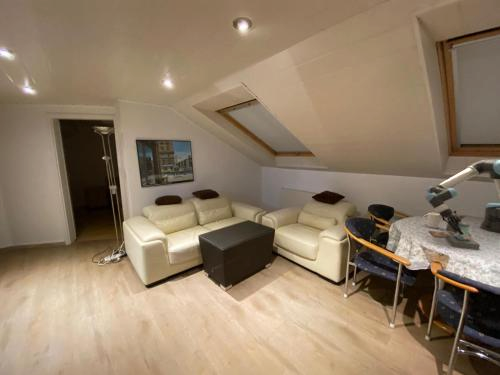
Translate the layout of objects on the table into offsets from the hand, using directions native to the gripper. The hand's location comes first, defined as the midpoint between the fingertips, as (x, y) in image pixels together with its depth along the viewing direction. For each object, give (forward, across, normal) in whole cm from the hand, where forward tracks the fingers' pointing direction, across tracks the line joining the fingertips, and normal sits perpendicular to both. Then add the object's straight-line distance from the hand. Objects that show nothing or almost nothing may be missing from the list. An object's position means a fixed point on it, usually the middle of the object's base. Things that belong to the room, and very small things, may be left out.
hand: (469, 237), depth 154 cm
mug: (-19, -24, -29) cm, 42 cm away
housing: (+2, 0, -7) cm, 8 cm away
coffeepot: (-9, -26, -19) cm, 33 cm away
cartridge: (+2, 0, -7) cm, 8 cm away
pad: (-8, -8, -18) cm, 21 cm away
